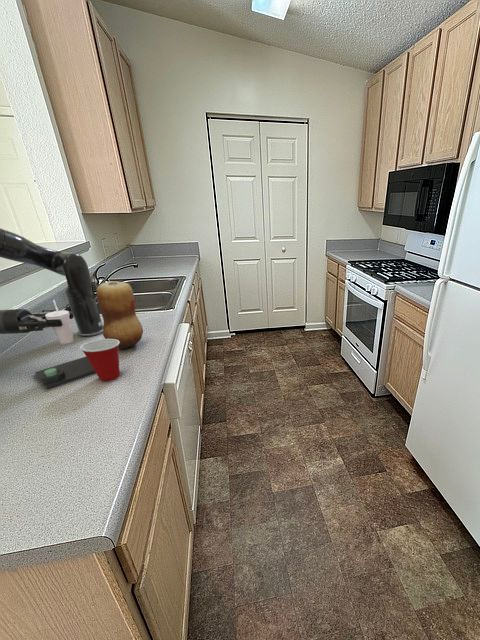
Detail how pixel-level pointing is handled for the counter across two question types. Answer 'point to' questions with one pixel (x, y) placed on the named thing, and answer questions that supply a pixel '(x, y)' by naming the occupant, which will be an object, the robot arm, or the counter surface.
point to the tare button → (51, 372)
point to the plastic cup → (103, 357)
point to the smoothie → (65, 330)
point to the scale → (66, 373)
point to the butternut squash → (119, 313)
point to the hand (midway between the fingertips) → (66, 318)
